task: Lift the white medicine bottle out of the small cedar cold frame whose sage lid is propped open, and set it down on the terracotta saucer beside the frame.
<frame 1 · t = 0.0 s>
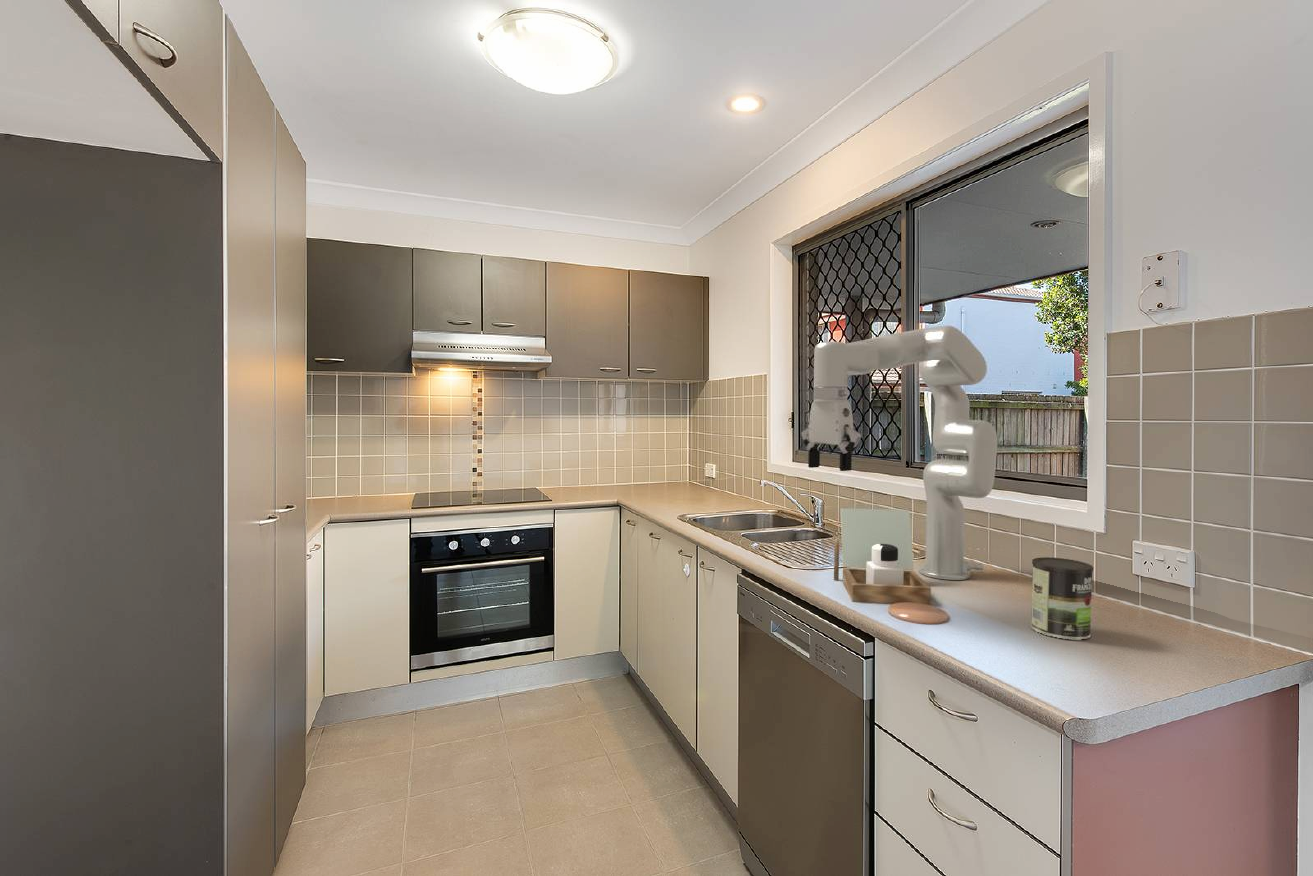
hand: (829, 468, 142), 31 cm above the table, tool pointing down, fingers open, 9 cm apart
medicine bottle: (884, 594, 149), resting in cold frame
prop stake: (836, 580, 161), on the table
cold frame: (884, 593, 149), on the table
coffee can: (1059, 632, 124), on the table
lid: (875, 538, 160), point 11 cm above the table, hinge at 110.0°
saucer: (917, 614, 134), on the table
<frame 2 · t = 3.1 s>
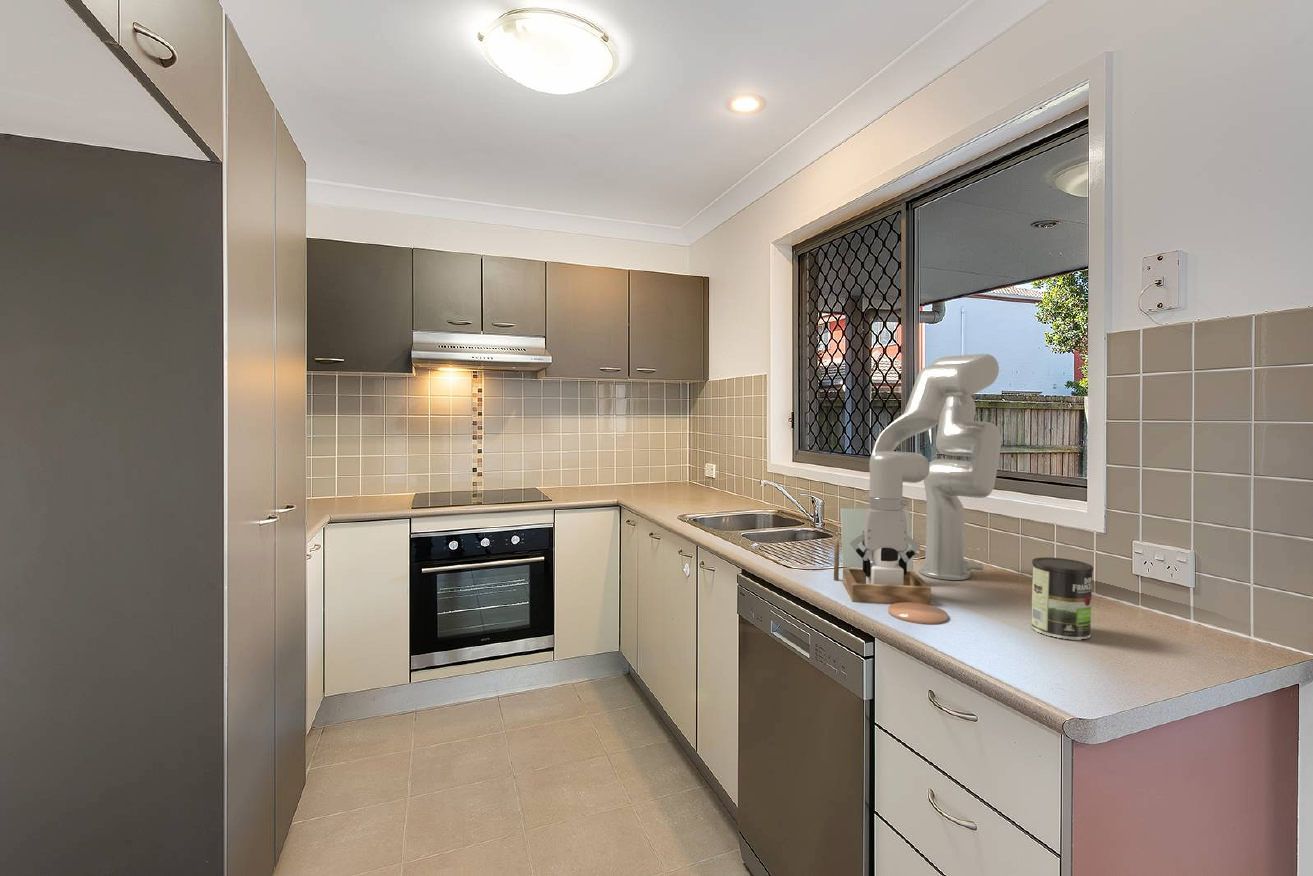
hand: (884, 575, 149), 4 cm above the table, tool pointing down, fingers closed on medicine bottle, 7 cm apart
medicine bottle: (884, 594, 149), resting in cold frame, touching gripper
everything else where it was.
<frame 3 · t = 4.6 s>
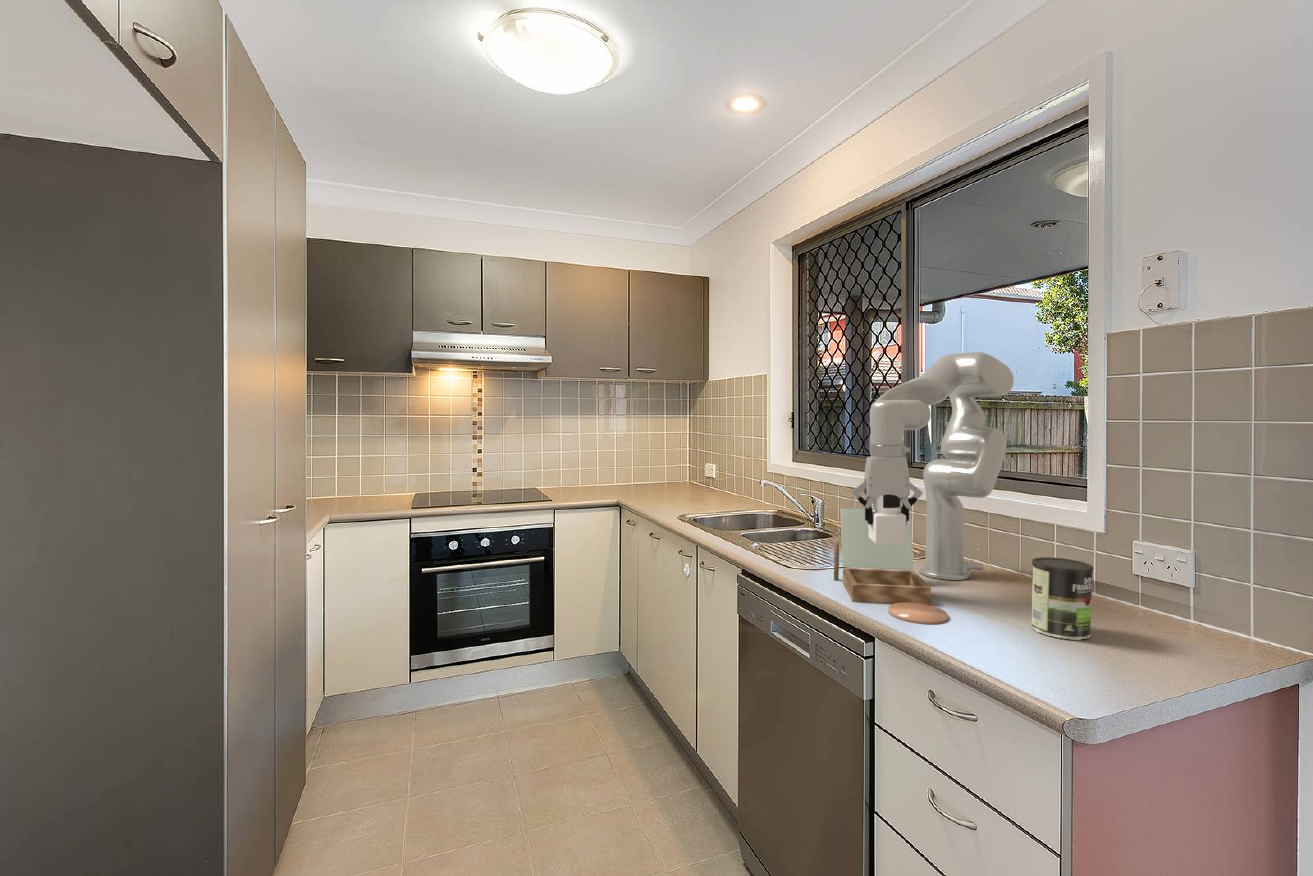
hand: (886, 523, 149), 17 cm above the table, tool pointing down, fingers closed on medicine bottle, 7 cm apart
medicine bottle: (886, 542, 149), point 13 cm above the table, touching gripper
everything else where it was.
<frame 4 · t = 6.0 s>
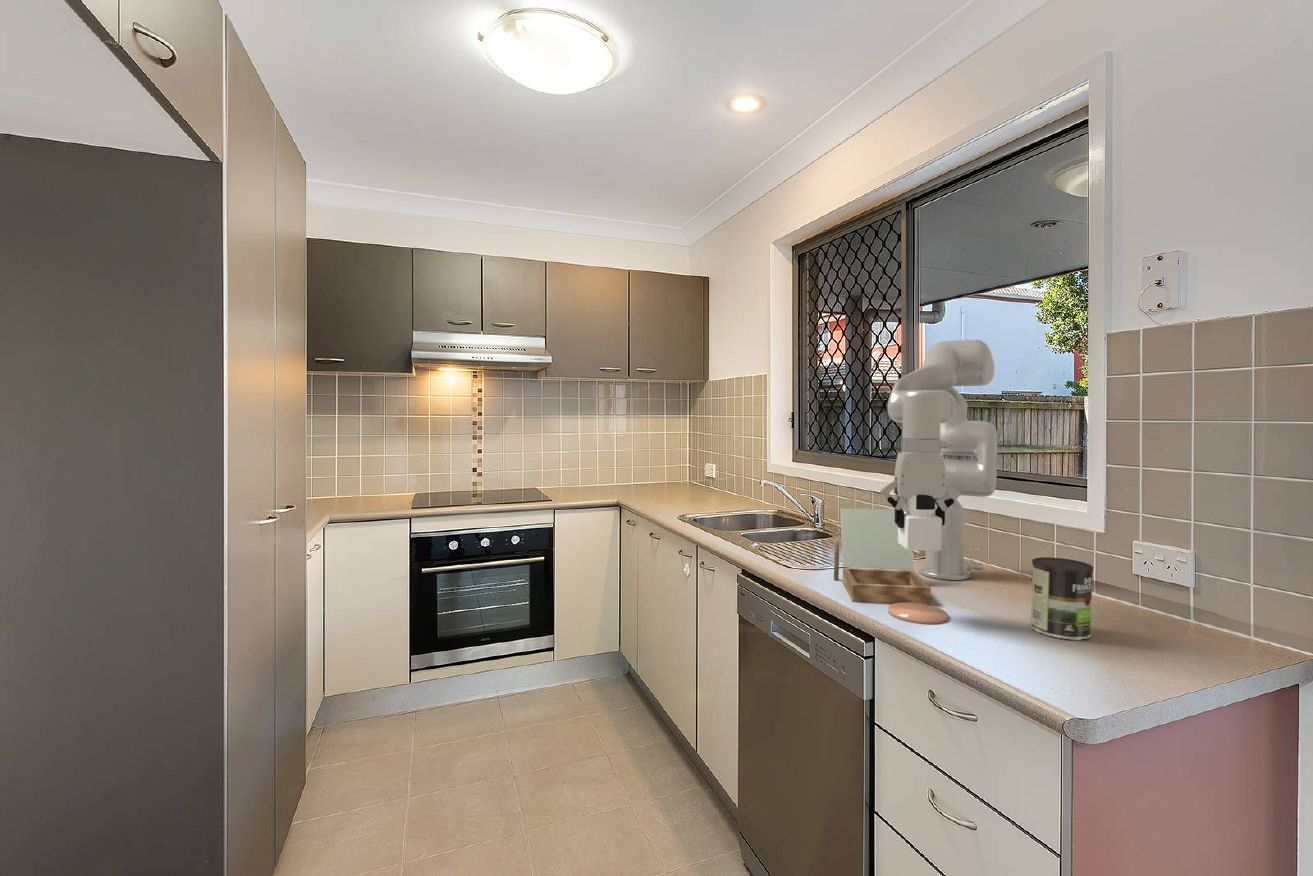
hand: (919, 527, 133), 19 cm above the table, tool pointing down, fingers closed on medicine bottle, 7 cm apart
medicine bottle: (918, 548, 133), point 15 cm above the table, touching gripper
everything else where it was.
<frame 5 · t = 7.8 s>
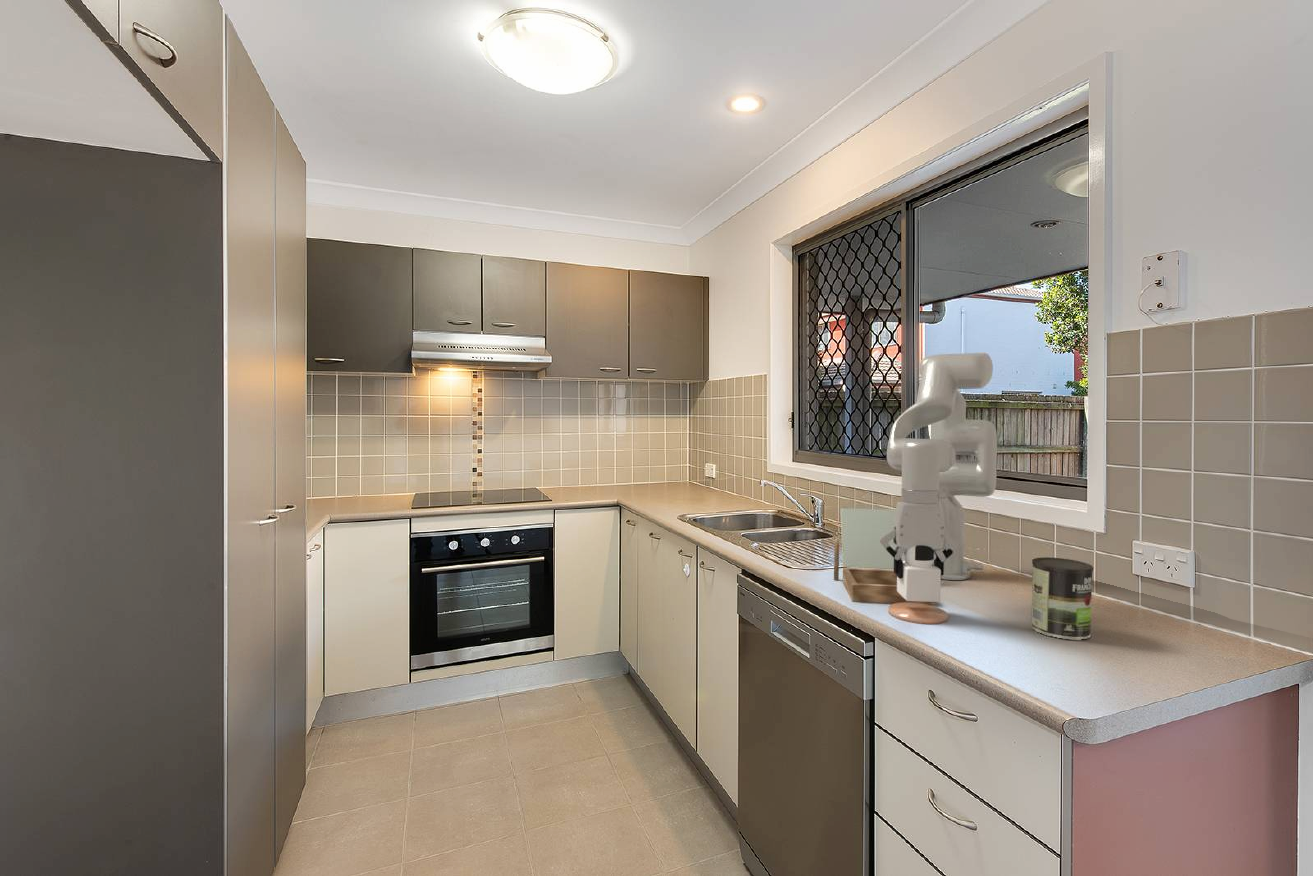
hand: (918, 577, 133), 8 cm above the table, tool pointing down, fingers closed on medicine bottle, 7 cm apart
medicine bottle: (917, 597, 133), point 4 cm above the table, touching gripper
everything else where it was.
when the fingers open (6 cm above the table, at t = 9.3 s): medicine bottle stays where it is, resting on saucer.
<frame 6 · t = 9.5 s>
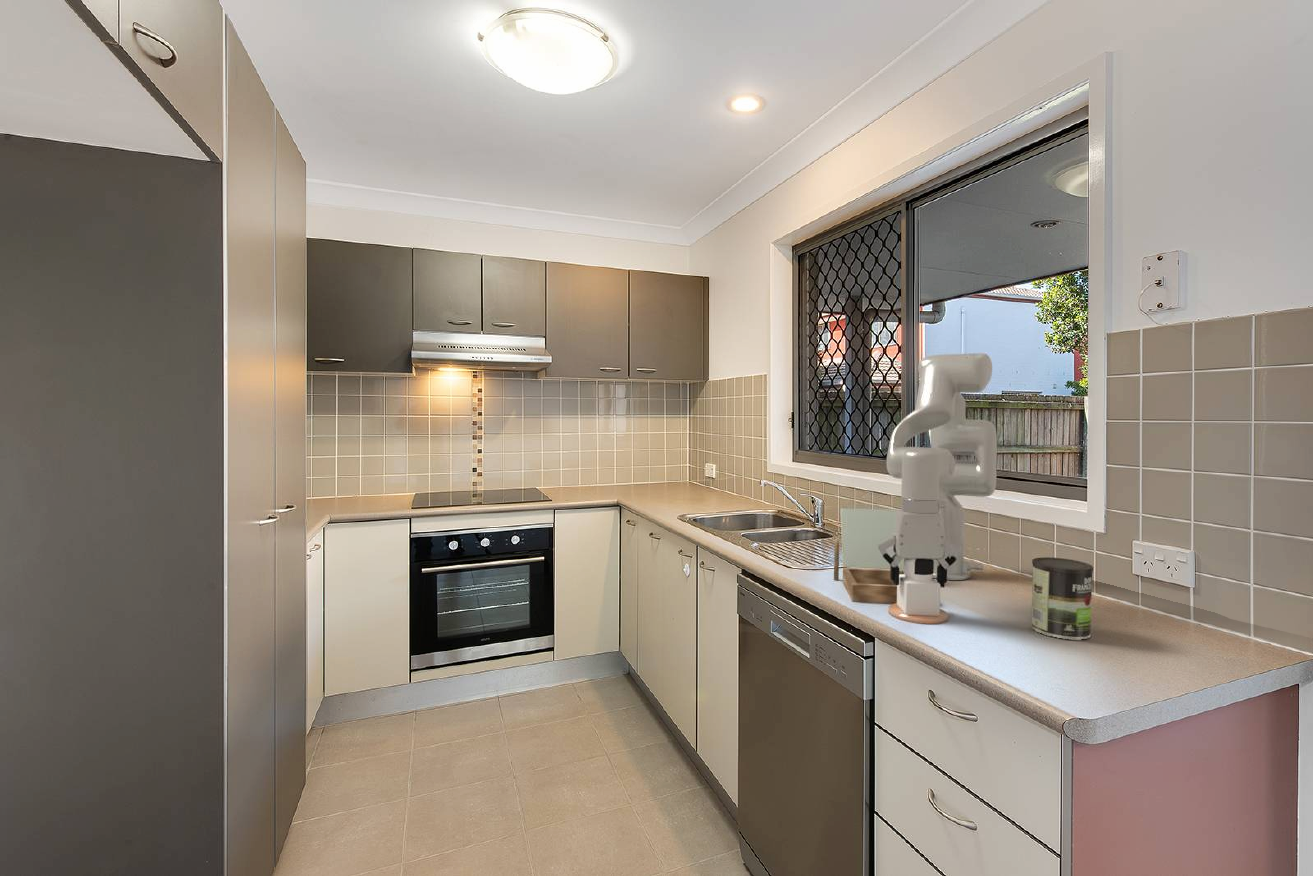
hand: (918, 584, 133), 7 cm above the table, tool pointing down, fingers open, 9 cm apart
medicine bottle: (917, 611, 134), point 1 cm above the table, touching saucer
everything else where it was.
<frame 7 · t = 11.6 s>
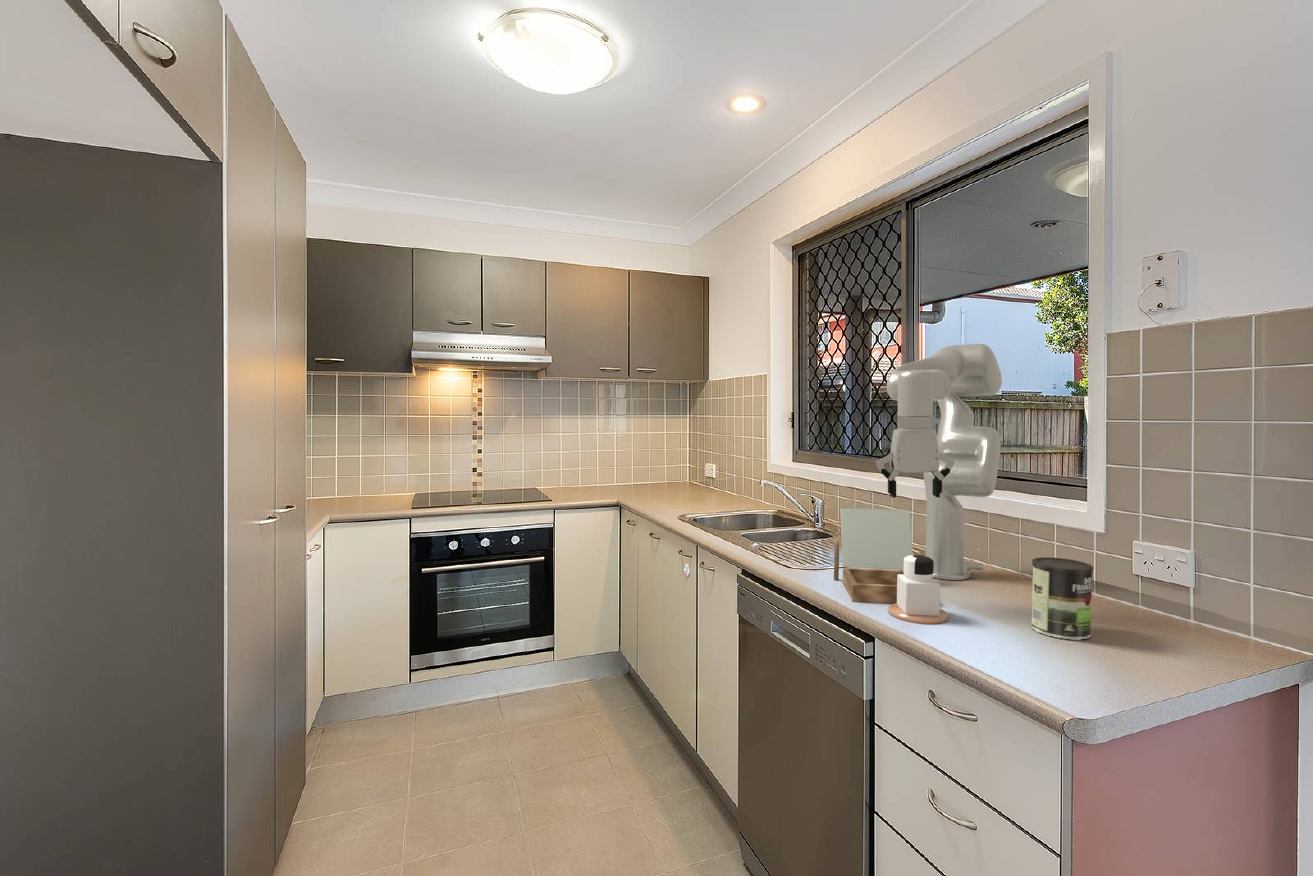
hand: (914, 496, 143), 25 cm above the table, tool pointing down, fingers open, 9 cm apart
nothing on the table moved.
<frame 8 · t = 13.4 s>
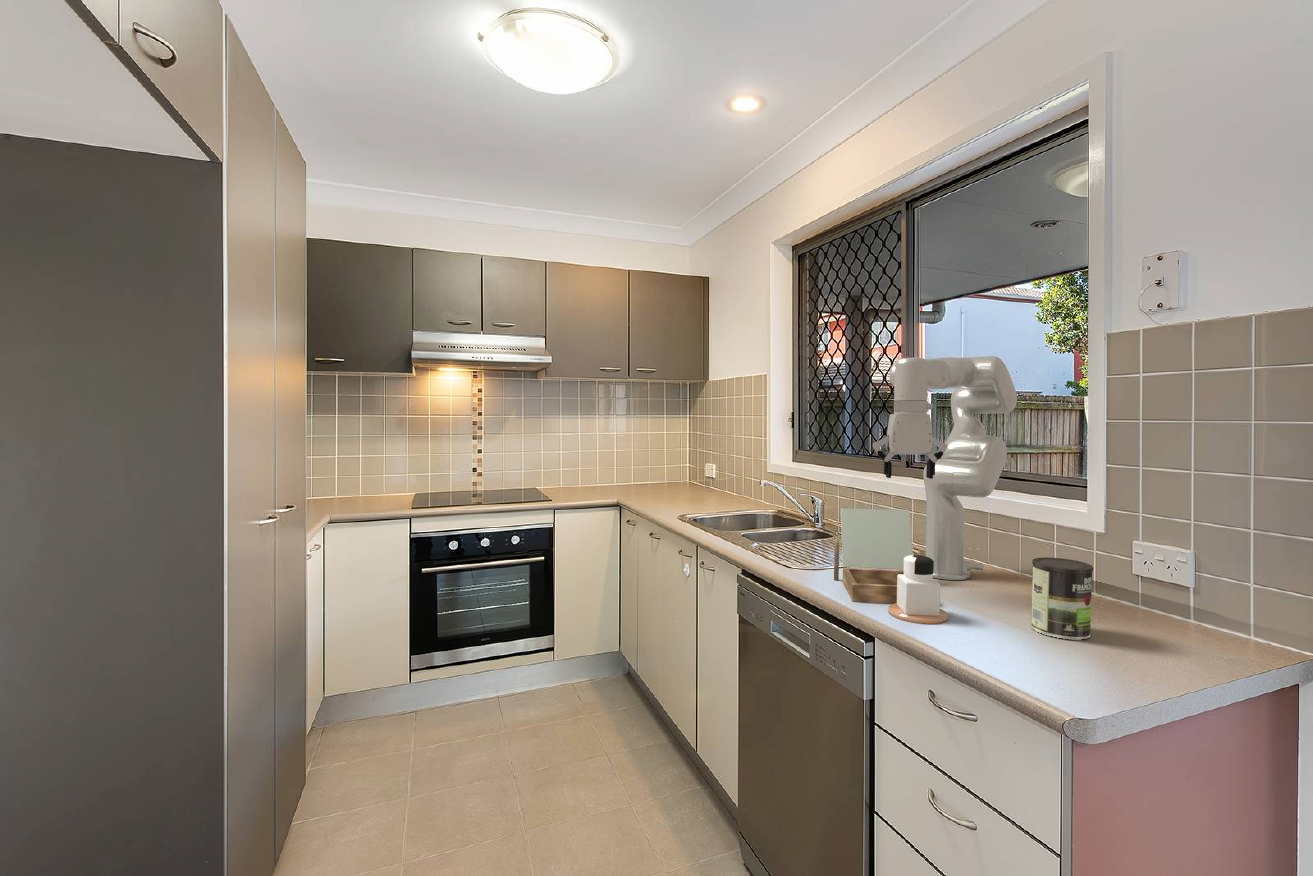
hand: (908, 477, 150), 28 cm above the table, tool pointing down, fingers open, 9 cm apart
nothing on the table moved.
at the end: medicine bottle inside the target area on the saucer (0.2 cm from its centre), point 0.6 cm above the saucer's base; medicine bottle tilted 0°; the gripper is holding nothing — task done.
